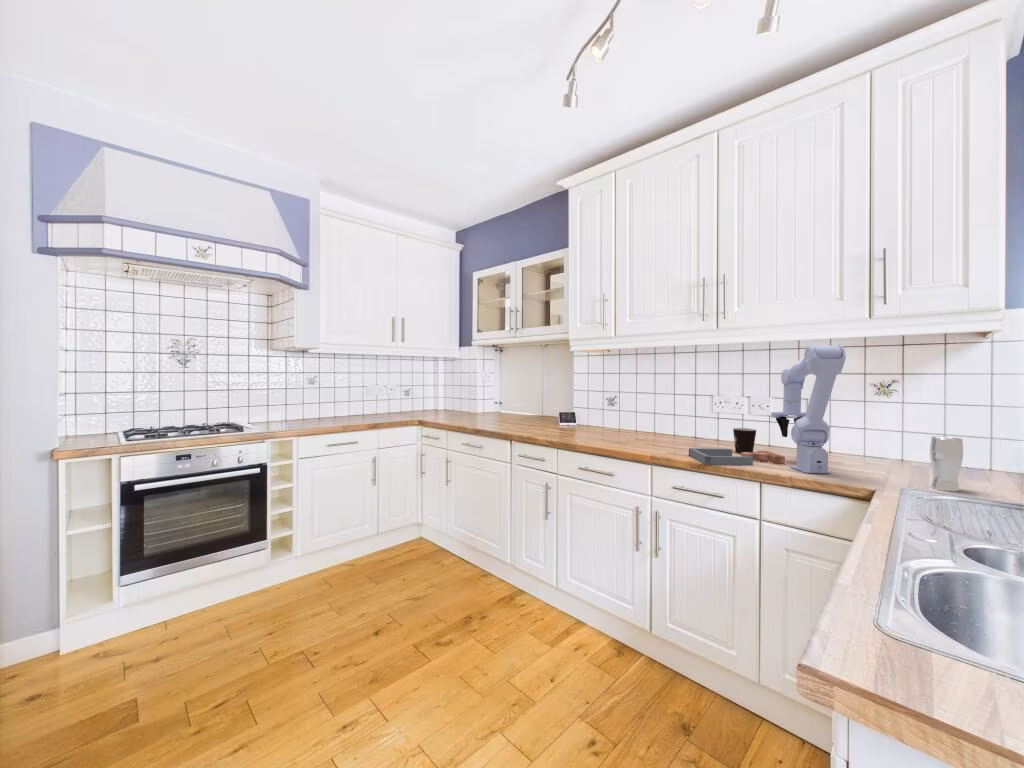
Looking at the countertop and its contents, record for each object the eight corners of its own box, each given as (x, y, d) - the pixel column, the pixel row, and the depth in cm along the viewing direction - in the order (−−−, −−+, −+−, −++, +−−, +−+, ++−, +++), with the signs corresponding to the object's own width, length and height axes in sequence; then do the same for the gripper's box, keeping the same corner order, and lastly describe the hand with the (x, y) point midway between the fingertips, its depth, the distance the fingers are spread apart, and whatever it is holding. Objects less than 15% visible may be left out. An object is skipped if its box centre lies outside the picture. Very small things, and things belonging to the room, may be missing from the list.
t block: (767, 458, 176) (767, 450, 176) (784, 464, 164) (785, 456, 164) (736, 457, 176) (736, 450, 176) (751, 464, 164) (751, 456, 164)
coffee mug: (753, 455, 181) (754, 431, 180) (730, 453, 186) (731, 429, 186) (758, 451, 190) (759, 428, 190) (736, 449, 195) (736, 426, 195)
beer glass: (934, 485, 135) (936, 435, 135) (965, 490, 129) (967, 439, 129) (924, 487, 132) (926, 437, 132) (956, 493, 126) (958, 440, 126)
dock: (752, 465, 161) (753, 457, 161) (706, 464, 162) (706, 456, 162) (730, 456, 179) (730, 448, 179) (688, 455, 180) (688, 448, 180)
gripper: (805, 400, 173) (804, 435, 173) (766, 400, 173) (766, 435, 174) (816, 402, 166) (815, 438, 166) (777, 401, 166) (776, 437, 166)
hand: (791, 436), depth 169 cm, fingers open, 4 cm apart
